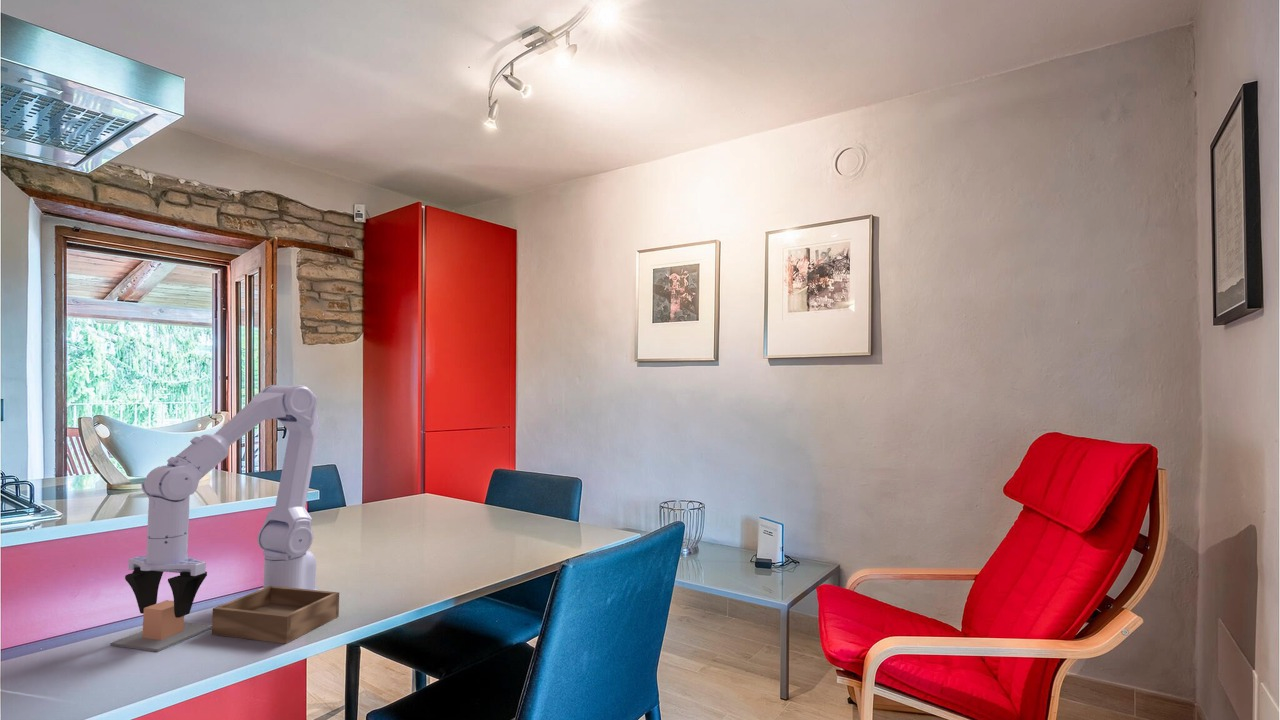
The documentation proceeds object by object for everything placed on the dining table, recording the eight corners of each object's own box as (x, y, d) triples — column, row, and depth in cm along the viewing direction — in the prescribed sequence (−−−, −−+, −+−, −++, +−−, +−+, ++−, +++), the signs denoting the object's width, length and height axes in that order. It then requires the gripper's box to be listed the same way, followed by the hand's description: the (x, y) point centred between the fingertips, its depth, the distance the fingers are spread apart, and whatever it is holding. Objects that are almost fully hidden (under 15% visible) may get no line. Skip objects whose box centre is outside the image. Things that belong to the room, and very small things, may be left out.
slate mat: (168, 622, 112) (168, 620, 112) (213, 628, 110) (213, 625, 110) (110, 645, 102) (110, 642, 102) (158, 651, 100) (158, 649, 100)
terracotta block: (165, 628, 108) (166, 600, 108) (183, 630, 107) (184, 602, 107) (142, 637, 104) (143, 608, 104) (160, 640, 103) (162, 610, 104)
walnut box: (269, 609, 119) (270, 585, 119) (338, 616, 116) (339, 592, 116) (211, 634, 107) (212, 608, 107) (286, 643, 103) (287, 616, 104)
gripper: (111, 537, 104) (107, 618, 104) (179, 543, 101) (176, 626, 100) (152, 528, 111) (149, 603, 111) (217, 533, 108) (214, 610, 107)
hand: (164, 613), depth 106 cm, fingers open, 7 cm apart
